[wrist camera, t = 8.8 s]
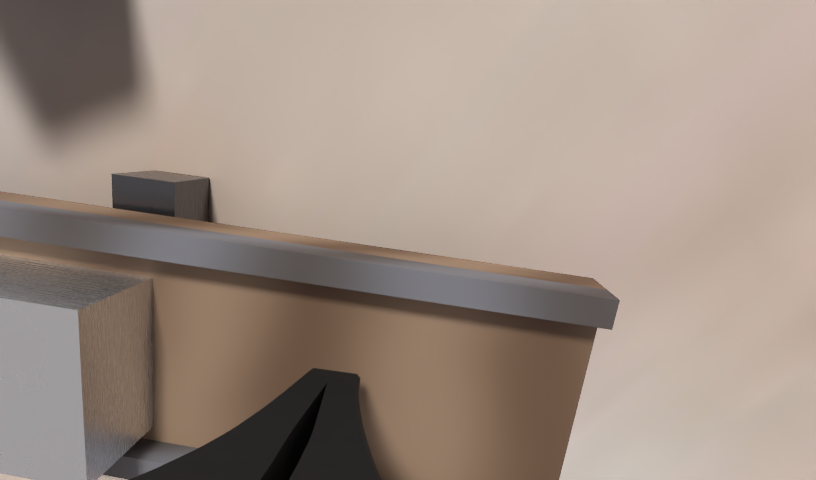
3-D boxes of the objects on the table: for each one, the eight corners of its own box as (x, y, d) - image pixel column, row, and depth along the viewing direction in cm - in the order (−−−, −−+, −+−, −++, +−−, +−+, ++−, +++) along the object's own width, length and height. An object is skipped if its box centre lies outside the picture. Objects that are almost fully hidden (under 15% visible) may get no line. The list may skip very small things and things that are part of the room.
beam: (592, 278, 12) (619, 300, 10) (537, 509, 14) (551, 561, 12) (-274, 151, 13) (-384, 151, 11) (-221, 375, 15) (-309, 405, 13)
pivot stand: (208, 177, 15) (174, 182, 13) (203, 417, 17) (173, 453, 15) (154, 170, 15) (112, 173, 13) (156, 410, 17) (120, 446, 15)
